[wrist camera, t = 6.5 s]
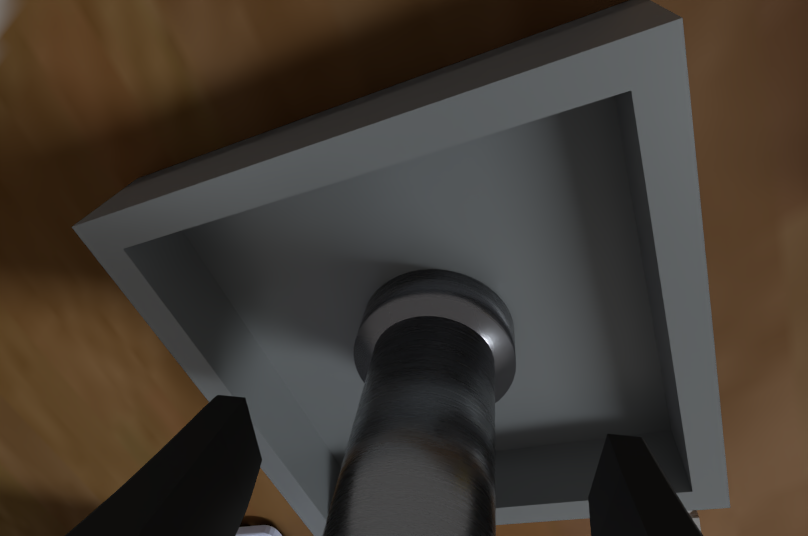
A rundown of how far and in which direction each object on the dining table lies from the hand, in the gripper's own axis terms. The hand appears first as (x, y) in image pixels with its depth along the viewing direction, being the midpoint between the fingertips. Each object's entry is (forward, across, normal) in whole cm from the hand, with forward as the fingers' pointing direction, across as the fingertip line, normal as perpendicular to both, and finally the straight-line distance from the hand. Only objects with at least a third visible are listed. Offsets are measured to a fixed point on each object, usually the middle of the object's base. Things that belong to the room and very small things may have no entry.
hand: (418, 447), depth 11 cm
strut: (+4, 0, 0) cm, 4 cm away
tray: (+4, 0, 0) cm, 4 cm away
